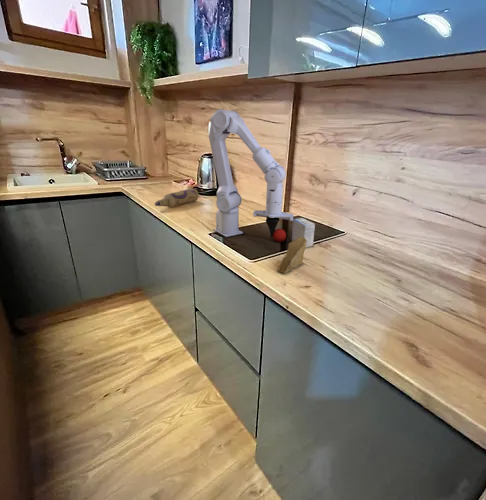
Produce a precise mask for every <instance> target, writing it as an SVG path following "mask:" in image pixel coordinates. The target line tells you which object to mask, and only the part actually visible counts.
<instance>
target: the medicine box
mask: <svg viewBox="0 0 486 500" xmlns="http://www.w3.org/2000/svg"><path fill="white" fill-rule="evenodd" d="M315 227H316V223H314V222H312V221H310V220H308V219H306V218H303V217H299V218H293V220H292V228H291V229H292V231H291V242H292V241H293V240H295V239H297V238H299V237H304V238H305V239H306V241H307V243H306V248H309V247H313V246H314V238H315V229H316V228H315Z"/></svg>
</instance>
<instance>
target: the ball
mask: <svg viewBox="0 0 486 500" xmlns="http://www.w3.org/2000/svg"><path fill="white" fill-rule="evenodd" d="M272 238H273V239H272V240H273V241H275V242H277V243H282V242H284V241H285V240H286V238H287V232H286V231H285V230H284V229H282V228H275V231H274V232H273V237H272Z"/></svg>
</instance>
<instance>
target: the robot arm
mask: <svg viewBox="0 0 486 500" xmlns="http://www.w3.org/2000/svg"><path fill="white" fill-rule="evenodd" d="M209 120H210V128H209V133H208V140H209V144H210V149H211V150H210V151H211V155H212V159H213V164H214V170H215V173H216V178H217V183H218V189H217V191H216V201H215V204H216V208H217V209H218V210H217V211H216V213H215V228H214V229H213V230H214V231H215V232H217V234H220V235H221V236H223V237H225V238H229V237H233V236H237V235H242V234H244V232H243V231H241V230H240V229H239V227H240V225H239V224H240V223H239V222H240V217H239V216H240V209H239V207H240V206H241V204H242V199H243V198H242V196H241V194H240V192H239V189H238V187H237V186H236V185H235V184H234V180H233V179H234V178H233V174H232V169H231V165H230V159H229V154H228V147H227V143H226V140H227V138H228V137H229V136H230V134H234V135H237V136H238V137H239V138H240V140H241V141H242V142H243V143H244V144H245V146H246V147H247V148H248V149H249V151H250V152H251V153H252V160H253V161H254V162H255V164H256V165H257V166H258V168H259V169H260V171H261V172H262V173H263V174H264V180H265V182H266V195H265V210H257V209H254V210H253V217H254V218H256V217H260V218H265V223H266V225H267V227H268V230H269V234H270V238H273V232H274V231H275V230H276V229H277V225H278V223H279V222H280V220H286V221H290V222H293V219H294V213H288V212H284V211H282V207H283V193H284V189H283V188H284V180H285V179H286V177H287V172H286V170H285V167H284V166H282V165H280V163H279V162H278V161H276V159H275V158H274V157H273V156H272V154H271V153H272V152H271V150H270V149H267V147H262V146H261V145H260V144H259V142H258V141H257V139H256V138H255V136H254V134H253V133H252V132H251V130H250V129H249V127H248V126H247V124H246V123H245V120H244V119H243V117H241V116H240V114H239V113H238V112H237V111H236V110H227V109H222V108H219V109H218V108H217V109H216V110H215V111H214V112H213V114H212V115H211V117H210V118H209Z"/></svg>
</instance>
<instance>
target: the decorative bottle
mask: <svg viewBox="0 0 486 500" xmlns="http://www.w3.org/2000/svg"><path fill="white" fill-rule="evenodd" d="M199 198H200V197H199V192H198V190H196V189H195V188H188V189H184V190H183V189H182V190H179V191H176V192H171V193H167V194H165V195H164V197H163V198H161V199H159V200H157V201H155V202H154V206H155V207H169V208H174V207H179V206H181V205H186V204H189V203H192V202H197V201H198V200H199Z"/></svg>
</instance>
